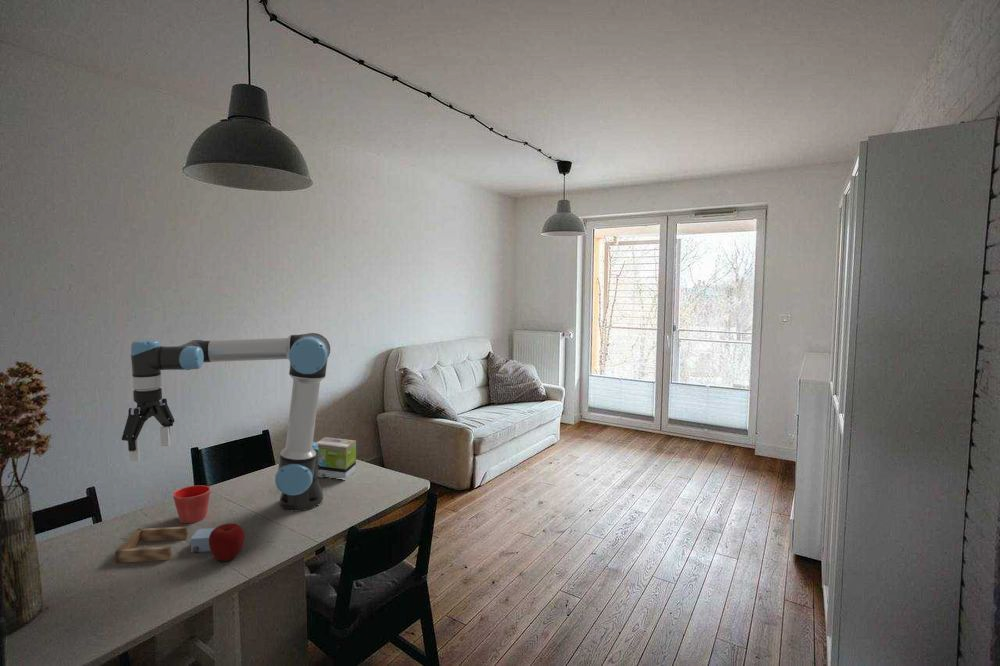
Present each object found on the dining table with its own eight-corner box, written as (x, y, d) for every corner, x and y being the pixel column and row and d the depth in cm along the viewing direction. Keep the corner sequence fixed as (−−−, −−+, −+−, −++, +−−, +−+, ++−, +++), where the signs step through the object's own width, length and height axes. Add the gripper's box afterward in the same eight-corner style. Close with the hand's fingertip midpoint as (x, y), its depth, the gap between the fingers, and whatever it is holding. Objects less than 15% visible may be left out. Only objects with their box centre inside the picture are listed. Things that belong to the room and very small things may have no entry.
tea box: (312, 477, 215) (312, 443, 214) (324, 468, 225) (324, 436, 223) (345, 481, 213) (346, 446, 211) (356, 472, 223) (356, 439, 221)
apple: (221, 548, 159) (220, 517, 158) (251, 549, 159) (250, 519, 157) (202, 565, 149) (201, 532, 148) (234, 567, 149) (234, 534, 148)
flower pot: (177, 513, 180) (176, 487, 179) (212, 509, 184) (212, 483, 183) (171, 527, 170) (170, 499, 169) (209, 522, 174) (208, 495, 173)
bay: (188, 536, 165) (187, 526, 164) (169, 559, 152) (169, 548, 151) (139, 539, 162) (138, 528, 162) (115, 562, 149) (115, 551, 149)
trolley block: (227, 540, 164) (226, 526, 163) (218, 552, 157) (218, 538, 156) (199, 541, 163) (199, 528, 162) (190, 553, 156) (189, 539, 155)
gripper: (163, 380, 176) (166, 439, 178) (104, 397, 151) (108, 466, 154) (184, 380, 176) (187, 440, 178) (128, 398, 151) (132, 467, 153)
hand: (150, 452), depth 166 cm, fingers open, 13 cm apart
